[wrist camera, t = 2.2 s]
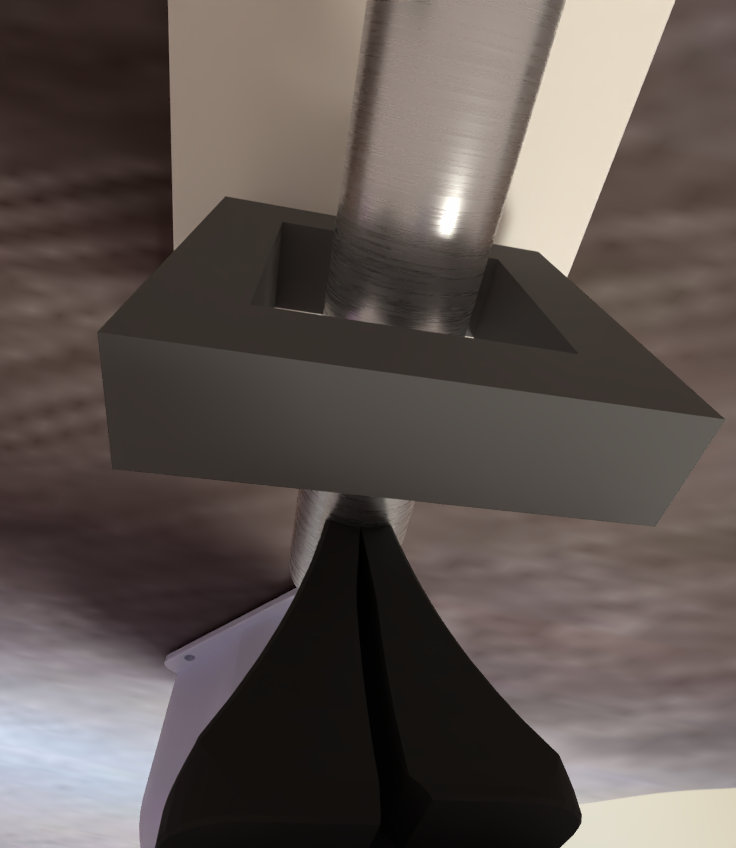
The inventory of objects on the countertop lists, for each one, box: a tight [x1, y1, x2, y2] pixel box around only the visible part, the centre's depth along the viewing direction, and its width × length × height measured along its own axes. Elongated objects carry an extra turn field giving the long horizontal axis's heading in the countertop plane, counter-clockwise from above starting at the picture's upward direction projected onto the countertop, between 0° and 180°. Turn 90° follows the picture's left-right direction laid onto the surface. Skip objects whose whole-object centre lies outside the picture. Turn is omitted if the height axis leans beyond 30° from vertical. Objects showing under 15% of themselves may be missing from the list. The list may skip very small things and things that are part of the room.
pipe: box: [289, 0, 566, 589], centre depth 9 cm, size 20×3×3 cm, turn 170°
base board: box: [168, 0, 675, 338], centre depth 13 cm, size 22×11×1 cm, turn 170°
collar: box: [97, 196, 725, 527], centre depth 10 cm, size 2×8×8 cm, turn 80°
